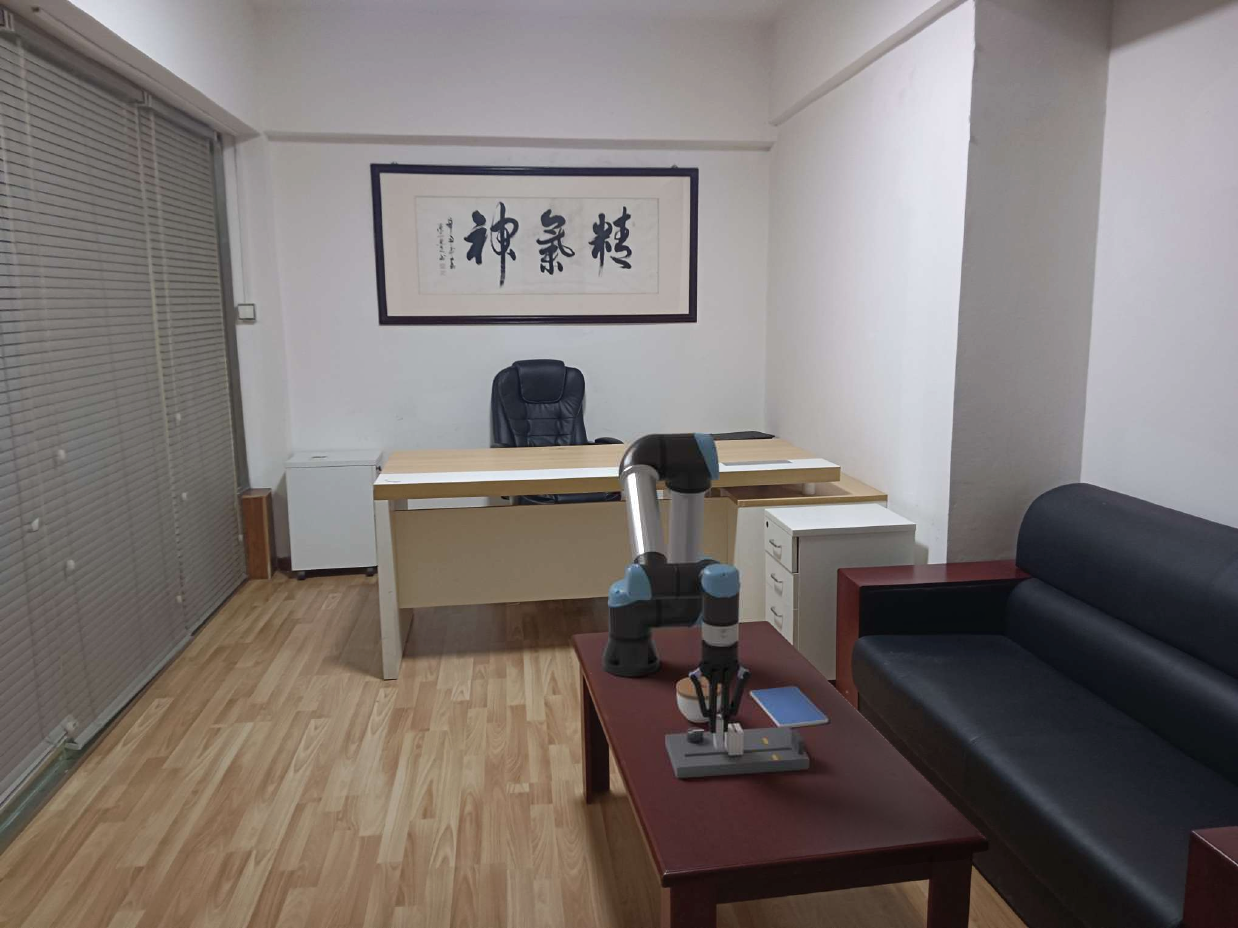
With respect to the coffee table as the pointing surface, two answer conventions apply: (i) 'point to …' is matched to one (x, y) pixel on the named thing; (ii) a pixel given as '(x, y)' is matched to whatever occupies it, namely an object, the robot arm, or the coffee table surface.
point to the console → (760, 754)
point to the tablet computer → (788, 707)
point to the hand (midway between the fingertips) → (718, 745)
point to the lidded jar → (694, 699)
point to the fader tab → (734, 739)
